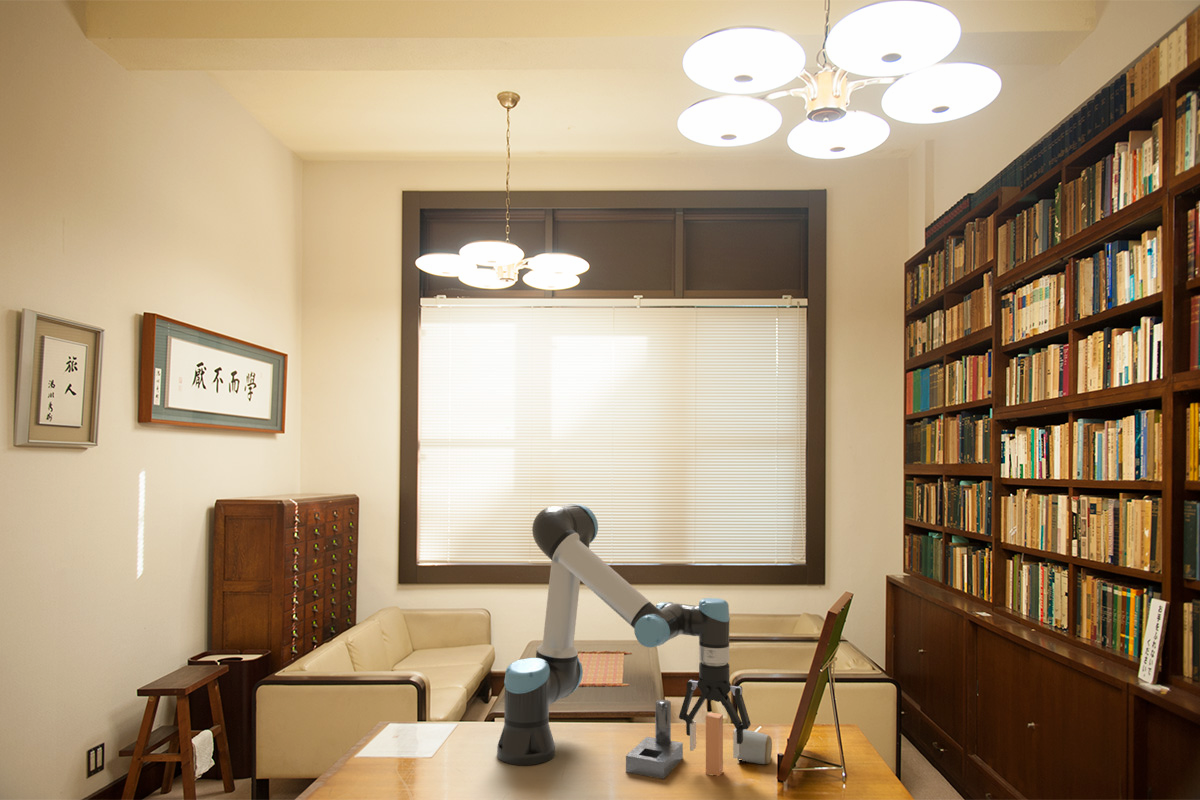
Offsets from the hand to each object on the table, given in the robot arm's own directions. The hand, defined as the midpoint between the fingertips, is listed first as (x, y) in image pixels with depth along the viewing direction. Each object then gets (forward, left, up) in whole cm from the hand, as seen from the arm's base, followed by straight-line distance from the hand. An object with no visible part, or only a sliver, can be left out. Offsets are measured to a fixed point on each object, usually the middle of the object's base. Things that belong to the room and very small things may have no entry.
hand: (714, 752), depth 197 cm
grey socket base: (-15, -2, -5) cm, 16 cm away
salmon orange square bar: (0, 0, -5) cm, 5 cm away
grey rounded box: (+7, +13, -5) cm, 15 cm away
